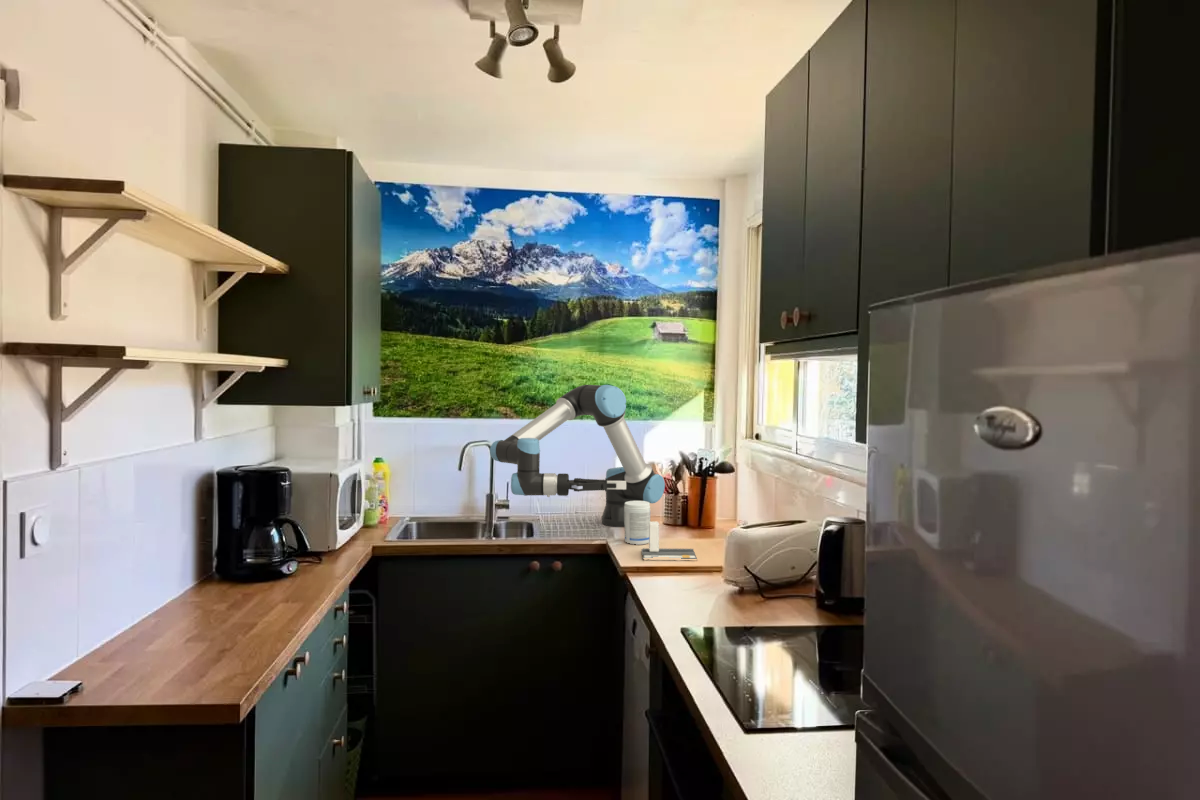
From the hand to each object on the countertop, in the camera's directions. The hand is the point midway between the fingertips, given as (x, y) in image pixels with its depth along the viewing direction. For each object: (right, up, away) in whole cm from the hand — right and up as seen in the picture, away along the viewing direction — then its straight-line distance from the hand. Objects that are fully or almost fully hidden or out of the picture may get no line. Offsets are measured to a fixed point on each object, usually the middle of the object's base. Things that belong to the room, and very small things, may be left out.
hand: (626, 485), depth 248 cm
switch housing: (+15, -24, +1) cm, 28 cm away
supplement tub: (+5, -24, +20) cm, 32 cm away
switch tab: (+10, -24, +1) cm, 26 cm away
